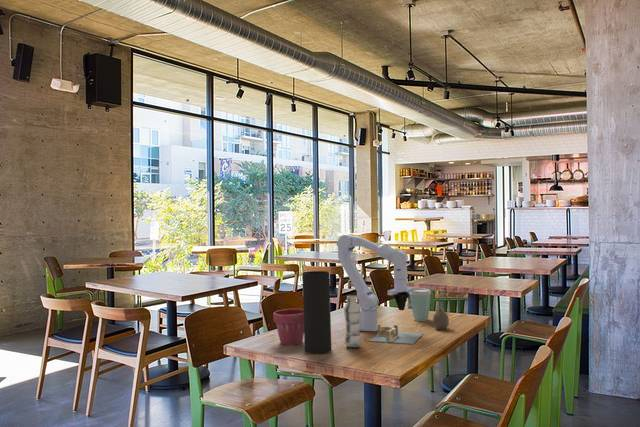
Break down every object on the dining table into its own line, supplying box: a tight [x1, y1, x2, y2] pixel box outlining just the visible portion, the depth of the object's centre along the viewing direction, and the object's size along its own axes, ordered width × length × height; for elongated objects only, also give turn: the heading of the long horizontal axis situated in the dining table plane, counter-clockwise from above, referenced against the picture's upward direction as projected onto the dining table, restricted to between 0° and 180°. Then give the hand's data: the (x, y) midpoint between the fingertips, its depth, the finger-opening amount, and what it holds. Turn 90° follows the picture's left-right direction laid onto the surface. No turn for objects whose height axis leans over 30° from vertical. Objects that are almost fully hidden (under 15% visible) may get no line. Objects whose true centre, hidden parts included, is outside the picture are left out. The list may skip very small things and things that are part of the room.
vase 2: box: [432, 308, 450, 331], centre depth 238 cm, size 7×7×9 cm
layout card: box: [368, 331, 424, 345], centre depth 223 cm, size 18×19×1 cm
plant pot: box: [272, 308, 304, 346], centre depth 220 cm, size 14×14×13 cm
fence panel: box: [386, 327, 396, 340], centre depth 220 cm, size 9×1×4 cm, turn 152°
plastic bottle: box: [343, 294, 362, 349], centre depth 210 cm, size 6×7×20 cm
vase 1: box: [302, 270, 332, 355], centre depth 206 cm, size 10×10×30 cm
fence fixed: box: [377, 324, 399, 336], centre depth 227 cm, size 9×2×5 cm, turn 66°
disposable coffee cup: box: [408, 287, 432, 322], centre depth 258 cm, size 11×11×15 cm
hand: (401, 309), depth 234 cm, fingers closed
